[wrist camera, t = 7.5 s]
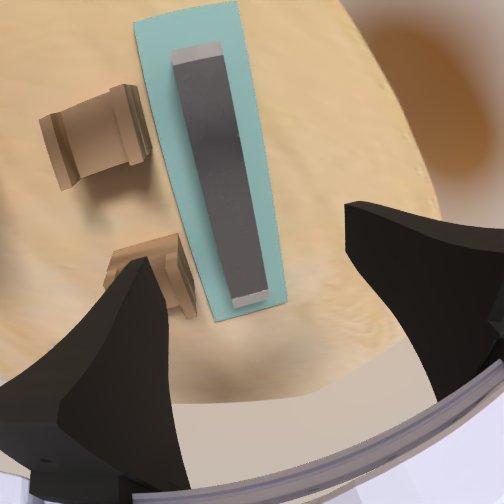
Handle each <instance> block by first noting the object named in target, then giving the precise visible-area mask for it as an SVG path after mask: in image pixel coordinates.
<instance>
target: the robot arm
mask: <svg viewBox="0 0 504 504" xmlns="http://www.w3.org/2000/svg"><path fill="white" fill-rule="evenodd" d="M344 208H345V252H346V253H347V255H348V257H349V258H350V260H351V262H352V263H353V265H354V266H355V268H356V269H357V271H358V272H359V273H360V274H361V276H362V277H363V278H364V279H365V280H366V282H367V283H368V284H369V285H370V286H371V288H372V289H373V290H374V291H375V292H376V293H377V295H378V296H379V297H380V298H381V299H382V301H383V302H384V303H385V304H386V305H387V307H388V308H389V309H390V310H391V312H392V313H393V314H394V316H395V317H396V318H397V320H398V322H399V323H400V325H401V326H402V328H403V330H404V331H405V333H406V335H407V336H408V338H409V340H410V342H411V344H412V345H413V347H414V349H415V351H416V353H417V355H418V357H419V358H420V361H421V363H422V365H423V367H424V369H425V371H426V374H427V376H428V378H429V380H430V383H431V385H432V388H433V391H434V393H435V396H436V399H437V402H438V403H436V404H434V405H433V406H431V407H430V408H428V409H426V410H425V411H423V412H421V413H419V414H418V415H416V416H414V417H412V418H410V419H409V420H407V421H405V422H403V423H401V424H399V425H397V426H395V427H393V428H392V429H389V430H387V431H385V432H383V433H381V434H379V435H377V436H375V437H373V438H370V439H368V440H366V441H364V442H361V443H359V444H357V445H354V446H352V447H350V448H347V449H345V450H342V451H340V452H337V453H335V454H332V455H329V456H327V457H324V458H321V459H319V460H315V461H313V462H309V463H306V464H303V465H300V466H297V467H294V468H291V469H287V470H284V471H280V472H277V473H273V474H269V475H265V476H261V477H257V478H254V479H248V480H244V481H239V482H234V483H229V484H224V485H218V486H212V487H205V488H198V489H191V487H190V484H189V480H188V477H187V474H186V470H185V467H184V463H183V460H182V456H181V452H180V447H179V443H178V439H177V434H176V429H175V424H174V419H173V413H172V406H171V400H170V392H169V380H168V346H169V323H168V313H167V305H166V300H165V298H164V296H163V293H162V291H161V289H160V286H159V284H158V282H157V279H156V277H155V275H154V272H153V270H152V267H151V265H150V263H149V260H148V258H147V256H145V257H141V258H138V259H134V260H131V261H130V262H129V263H128V264H127V265H126V266H125V267H124V268H123V270H122V271H121V272H120V273H119V275H118V276H117V277H116V278H115V280H114V281H113V282H112V284H111V285H110V286H109V287H108V289H107V290H106V291H105V293H104V294H103V295H102V296H101V297H100V299H99V300H98V301H97V302H96V303H95V305H94V306H93V307H92V308H91V310H90V311H89V312H88V313H87V314H86V315H85V317H84V318H83V319H82V320H81V321H80V322H79V323H78V324H77V325H76V326H75V327H74V328H73V329H72V330H71V331H70V332H69V333H68V334H67V335H66V336H65V337H64V338H63V339H62V340H61V341H60V342H59V343H58V344H57V345H55V346H53V347H51V349H50V351H49V352H48V353H47V354H45V355H44V356H43V357H42V358H40V359H39V360H38V361H37V362H35V363H34V364H33V365H32V366H30V367H29V368H28V369H26V370H25V371H23V372H22V373H21V374H19V375H18V376H16V377H15V378H13V379H12V380H10V381H8V382H7V383H5V384H4V385H2V386H1V387H0V450H1V451H2V452H4V453H5V454H7V455H8V456H9V457H11V458H13V459H14V460H15V461H17V462H18V463H20V464H21V465H23V466H25V467H26V468H28V469H29V470H31V475H30V479H28V478H26V477H23V476H20V475H16V474H11V473H6V472H2V471H0V504H279V503H283V502H286V501H290V500H293V499H297V498H300V497H303V496H306V495H310V494H313V493H316V492H319V491H322V490H324V489H327V488H330V487H332V486H335V485H338V484H341V483H343V482H346V481H348V480H351V479H353V478H355V477H358V476H360V475H363V474H365V473H367V472H369V471H371V470H374V469H375V468H377V469H375V470H374V471H371V472H369V473H367V474H365V475H363V476H361V477H359V478H357V479H355V480H353V481H351V482H350V483H348V484H346V485H344V486H342V487H340V488H338V489H337V490H335V491H333V492H331V493H329V494H327V495H324V496H322V497H319V498H316V499H314V500H311V501H308V502H305V503H303V504H504V229H495V228H482V227H474V226H465V225H459V224H453V223H448V222H443V221H438V220H434V219H430V218H426V217H422V216H418V215H414V214H411V213H407V212H404V211H400V210H397V209H393V208H389V207H386V206H382V205H378V204H374V203H370V202H364V201H356V202H352V203H348V204H344ZM386 463H387V464H386ZM384 464H385V465H384ZM382 465H383V466H382ZM380 466H381V467H380ZM378 467H379V468H378Z"/></svg>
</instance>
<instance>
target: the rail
mask: <svg viewBox="0 0 504 504" xmlns="http://www.w3.org/2000/svg"><path fill="white" fill-rule="evenodd" d="M170 56H171V60H172V65H173V69H174V73H175V78H176V83H177V87H178V92H179V96H180V101H181V105H182V109H183V114H184V118H185V122H186V127H187V131H188V135H189V139H190V143H191V148H192V152H193V156H194V160H195V164H196V168H197V172H198V176H199V180H200V184H201V188H202V192H203V196H204V200H205V204H206V208H207V211H208V215H209V219H210V223H211V227H212V230H213V234H214V238H215V242H216V245H217V249H218V253H219V256H220V260H221V264H222V267H223V271H224V274H225V278H226V282H227V285H228V289H229V292H230V296H231V300H232V303H233V307H234V308H238V307H242V306H245V305H249V304H253V303H256V302H260V301H263V300H267V299H270V294H269V289H268V284H267V279H266V273H265V268H264V262H263V257H262V252H261V246H260V241H259V235H258V230H257V225H256V219H255V214H254V209H253V203H252V198H251V193H250V188H249V182H248V177H247V172H246V167H245V161H244V156H243V151H242V146H241V141H240V136H239V130H238V125H237V120H236V115H235V110H234V105H233V100H232V95H231V90H230V85H229V80H228V75H227V70H226V65H225V60H224V54H223V49H222V44H221V41H215V42H210V43H205V44H200V45H195V46H190V47H186V48H181V49H177V50H173V51H170Z"/></svg>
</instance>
